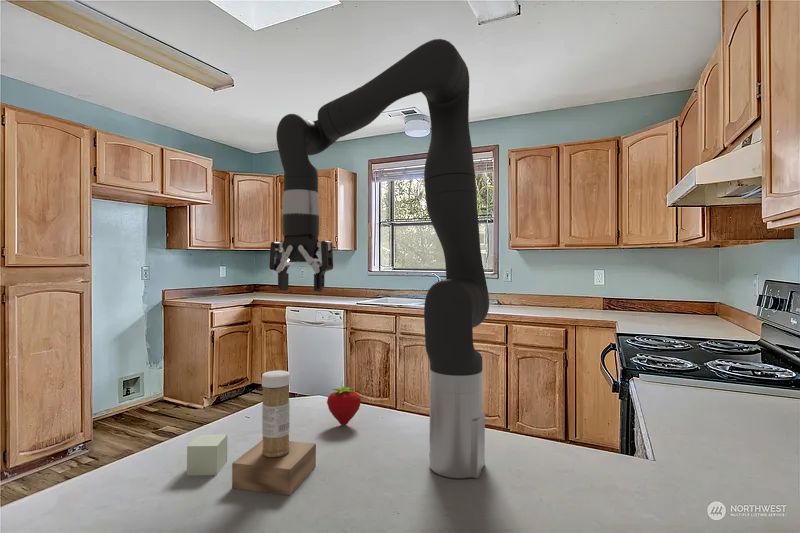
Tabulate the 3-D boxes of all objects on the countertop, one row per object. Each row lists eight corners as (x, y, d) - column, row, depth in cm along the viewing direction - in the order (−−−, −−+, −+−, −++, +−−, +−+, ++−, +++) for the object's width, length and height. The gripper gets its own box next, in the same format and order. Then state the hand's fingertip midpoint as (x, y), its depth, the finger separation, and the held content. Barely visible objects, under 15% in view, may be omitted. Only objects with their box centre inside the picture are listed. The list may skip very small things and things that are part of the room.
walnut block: (315, 466, 77) (315, 443, 77) (290, 495, 68) (290, 469, 68) (264, 460, 79) (264, 438, 79) (232, 488, 70) (232, 463, 70)
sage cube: (227, 462, 79) (227, 434, 79) (217, 475, 74) (217, 445, 74) (199, 462, 79) (199, 434, 79) (186, 475, 74) (187, 446, 74)
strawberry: (360, 430, 94) (360, 384, 94) (325, 430, 94) (325, 384, 94) (361, 420, 100) (361, 377, 100) (328, 420, 100) (328, 377, 100)
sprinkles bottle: (282, 445, 77) (282, 368, 77) (294, 453, 73) (294, 373, 73) (257, 452, 74) (257, 372, 74) (268, 461, 70) (268, 377, 70)
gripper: (339, 214, 93) (339, 291, 93) (283, 217, 98) (283, 289, 98) (320, 210, 86) (320, 293, 86) (261, 213, 91) (261, 291, 91)
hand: (300, 291), depth 92 cm, fingers open, 8 cm apart
